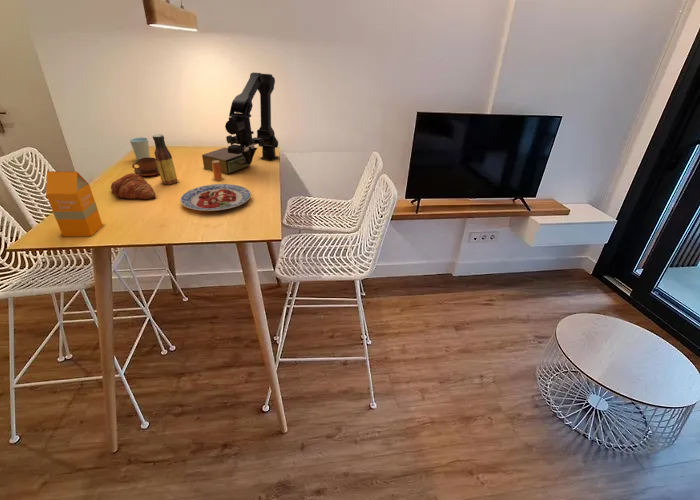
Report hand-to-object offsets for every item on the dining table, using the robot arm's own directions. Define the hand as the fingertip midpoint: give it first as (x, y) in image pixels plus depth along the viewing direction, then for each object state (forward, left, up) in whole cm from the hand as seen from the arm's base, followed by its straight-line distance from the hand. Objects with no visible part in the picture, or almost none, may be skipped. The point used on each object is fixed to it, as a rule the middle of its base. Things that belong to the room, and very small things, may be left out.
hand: (249, 164), depth 175 cm
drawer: (0, -10, -3) cm, 10 cm away
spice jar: (+14, -6, -4) cm, 16 cm away
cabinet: (0, -14, -4) cm, 15 cm away
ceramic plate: (+32, +11, -4) cm, 34 cm away
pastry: (+44, -21, -4) cm, 49 cm away
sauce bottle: (+28, -20, -4) cm, 35 cm away
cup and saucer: (+25, -36, -4) cm, 44 cm away
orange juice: (+72, -8, -4) cm, 73 cm away
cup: (+15, -53, -4) cm, 55 cm away
